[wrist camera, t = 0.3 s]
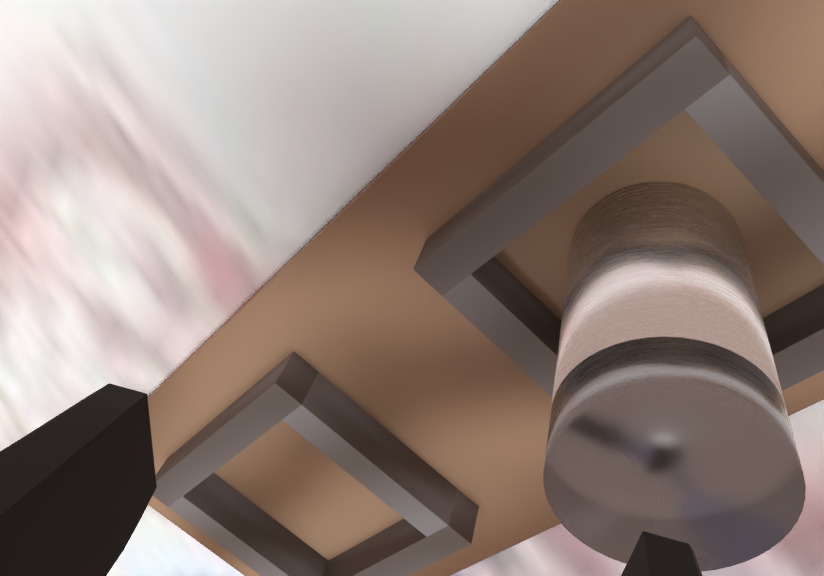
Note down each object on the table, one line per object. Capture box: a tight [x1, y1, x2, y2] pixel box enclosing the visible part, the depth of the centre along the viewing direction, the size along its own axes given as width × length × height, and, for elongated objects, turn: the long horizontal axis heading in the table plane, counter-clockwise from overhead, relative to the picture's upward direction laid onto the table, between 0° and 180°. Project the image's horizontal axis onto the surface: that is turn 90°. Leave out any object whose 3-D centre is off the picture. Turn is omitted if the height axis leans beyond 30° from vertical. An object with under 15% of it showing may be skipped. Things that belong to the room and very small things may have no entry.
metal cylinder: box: [543, 182, 805, 571], centre depth 15 cm, size 4×4×8 cm
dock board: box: [148, 0, 824, 576], centre depth 22 cm, size 12×28×2 cm, turn 138°
